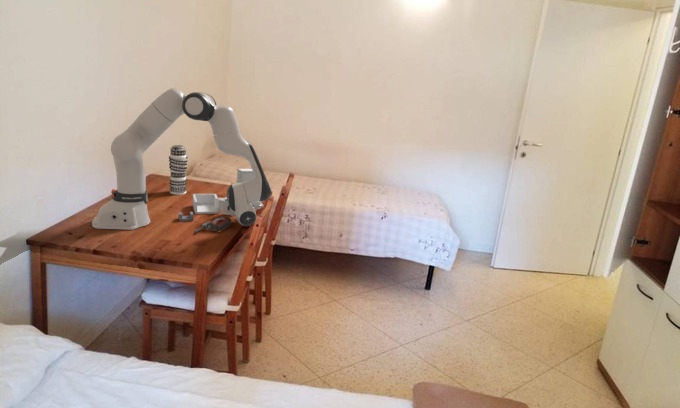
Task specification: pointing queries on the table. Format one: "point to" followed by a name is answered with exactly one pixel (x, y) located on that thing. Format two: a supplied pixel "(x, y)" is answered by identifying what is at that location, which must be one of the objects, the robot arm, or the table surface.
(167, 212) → the table surface
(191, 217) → the cable clip
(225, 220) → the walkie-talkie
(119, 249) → the table surface
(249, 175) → the skincare box
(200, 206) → the box
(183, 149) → the decorative candle
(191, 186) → the table surface
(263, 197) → the robot arm
